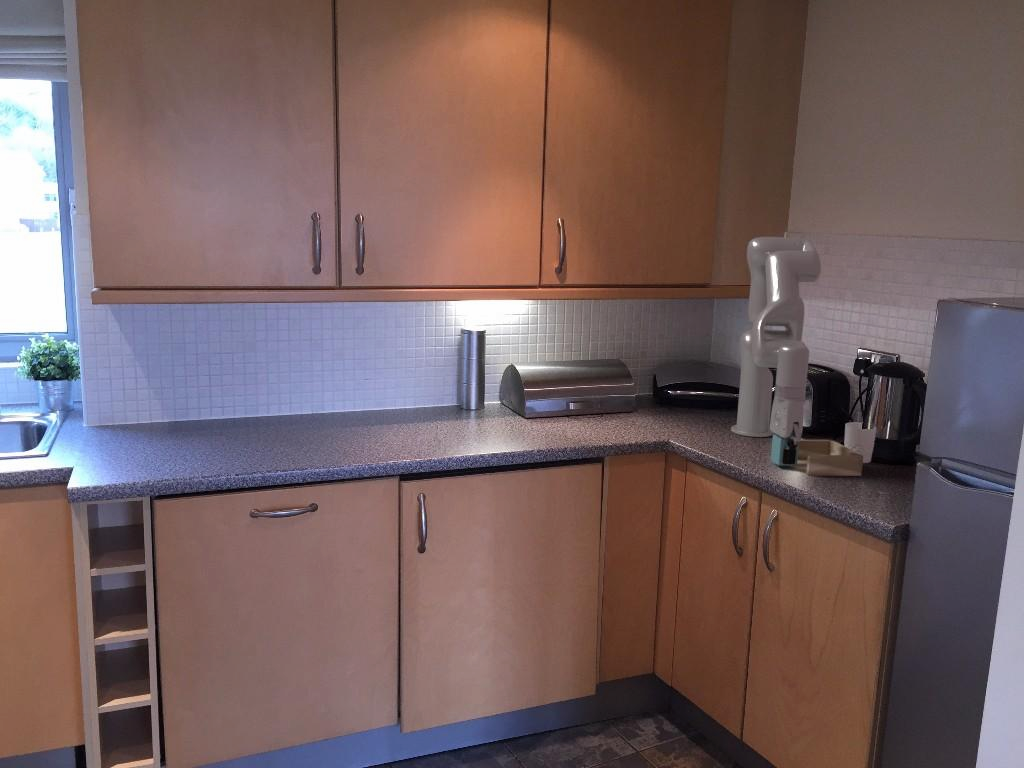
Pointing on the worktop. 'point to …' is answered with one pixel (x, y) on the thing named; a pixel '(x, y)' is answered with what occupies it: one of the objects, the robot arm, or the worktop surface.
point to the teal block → (780, 450)
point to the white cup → (860, 440)
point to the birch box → (828, 459)
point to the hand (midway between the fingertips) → (783, 460)
